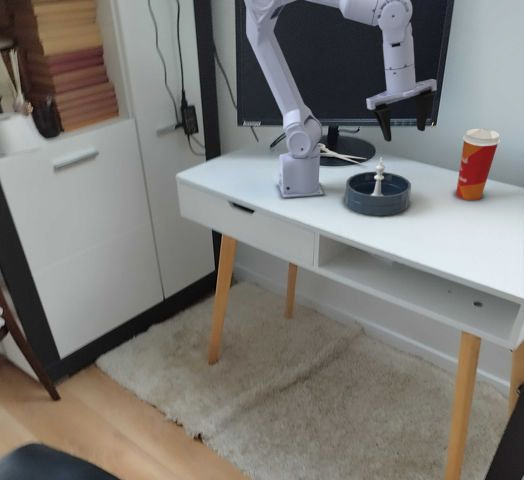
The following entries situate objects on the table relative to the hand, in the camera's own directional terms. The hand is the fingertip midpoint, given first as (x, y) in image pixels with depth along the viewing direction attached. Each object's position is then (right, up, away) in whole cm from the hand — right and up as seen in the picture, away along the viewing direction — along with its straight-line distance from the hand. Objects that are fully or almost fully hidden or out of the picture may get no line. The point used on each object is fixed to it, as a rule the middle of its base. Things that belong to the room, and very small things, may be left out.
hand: (404, 135), depth 116 cm
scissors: (-11, +6, +31) cm, 34 cm away
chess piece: (-4, -12, +8) cm, 15 cm away
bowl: (-4, -12, +8) cm, 15 cm away
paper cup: (+17, -10, +10) cm, 23 cm away
